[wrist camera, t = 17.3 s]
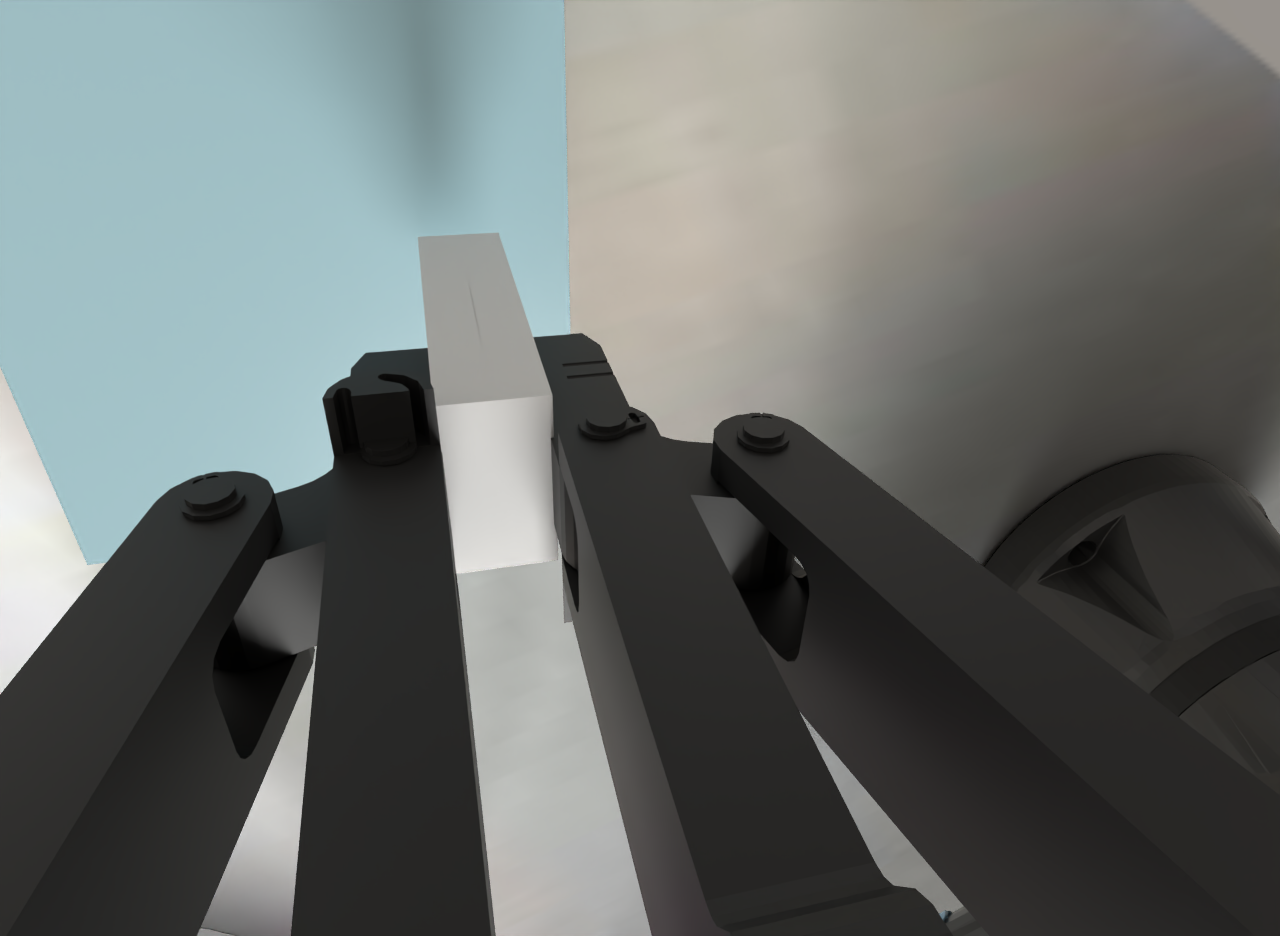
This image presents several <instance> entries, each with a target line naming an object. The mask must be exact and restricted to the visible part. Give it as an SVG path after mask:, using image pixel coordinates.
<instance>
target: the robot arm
mask: <svg viewBox="0 0 1280 936" xmlns="http://www.w3.org/2000/svg"><path fill="white" fill-rule="evenodd" d="M418 247H419V258H420V269H421V280H422V291H423V302H424V313H425V324H426V335H427V346H428V348H419V349H407V350H394V351H382V352H369V353H365V354H364V355H363V356H362V357H361V358H360V359H359V360H358V361H357V362H356V363H355V365H354V366H353V367H352V368H351V374H350V376H349V377H346V378H344V379H341V380H339V381H338V382H336V383H335V384H334V385H332V386H331V387H329V388H328V389H327V391H326V392H325V394H324V396H323V398H322V401H323V406H324V410H325V415H326V420H327V425H328V430H329V435H330V440H331V445H332V449H333V454H334V460H333V469H331V470H330V471H329V472H328V473H326V474H325V475H323V476H321V477H319V478H317V479H316V480H314V481H312V482H309V483H306V484H303V485H301V486H298V487H295V488H292V489H288V490H285V491H281V492H278V493H275V494H274V490H273V488H272V487H271V485H270V483H269V481H268V480H267V479H265V478H263V477H261V476H259V475H257V474H255V473H248V472H241V471H226V472H212V473H207V474H205V475H199V476H196V477H193V478H191V479H189V480H187V481H185V482H183V483H181V484H179V485H177V486H175V487H173V488H171V489H169V490H168V491H167V492H166V493H165V494H164V495H162V496H161V497H160V498H159V499H158V500H157V501H156V502H155V503H154V504H153V505H152V507H151V508H150V509H149V510H148V512H147V513H146V514H145V515H144V517H143V518H142V519H141V520H140V522H139V523H138V524H137V525H136V526H135V528H134V529H133V530H132V531H131V533H130V534H129V535H128V536H127V538H126V539H125V540H124V541H123V543H122V544H121V545H120V546H119V548H118V549H117V550H116V551H115V553H114V554H113V555H112V556H111V558H110V559H109V560H108V561H107V563H106V564H105V565H104V566H103V568H102V569H101V570H100V571H99V573H98V574H97V575H96V576H95V577H94V579H93V580H92V581H91V582H90V584H89V585H88V586H87V587H86V589H85V590H84V591H83V592H82V594H81V595H80V596H79V597H78V599H77V600H76V601H75V602H74V604H73V605H72V606H71V607H70V609H69V610H68V611H67V612H66V614H65V615H64V616H63V617H62V619H61V620H60V621H59V622H58V624H57V625H56V626H55V627H54V628H53V630H52V631H51V632H50V633H49V635H48V636H47V637H46V638H45V640H44V641H43V642H42V643H41V645H40V646H39V647H38V648H37V650H36V651H35V652H34V653H33V655H32V656H31V657H30V658H29V660H28V661H27V662H26V663H25V665H24V666H23V667H22V668H21V670H20V671H19V672H18V673H17V675H16V676H15V677H14V678H13V679H12V681H11V682H10V683H9V684H8V686H7V687H6V688H5V689H4V691H3V692H2V693H1V694H0V936H197V934H198V932H199V930H200V927H201V925H202V923H203V920H204V918H205V916H206V913H207V911H208V908H209V906H210V904H211V901H212V899H213V897H214V894H215V892H216V890H217V887H218V885H219V883H220V880H221V878H222V876H223V873H224V871H225V868H226V866H227V864H228V861H229V859H230V857H231V854H232V852H233V850H234V847H235V845H236V843H237V840H238V838H239V836H240V833H241V831H242V828H243V826H244V824H245V821H246V819H247V817H248V814H249V812H250V810H251V807H252V805H253V803H254V800H255V798H256V796H257V793H258V791H259V789H260V786H261V784H262V781H263V779H264V777H265V774H266V772H267V770H268V767H269V765H270V763H271V760H272V758H273V756H274V753H275V751H276V749H277V746H278V744H279V741H280V739H281V737H282V734H283V732H284V730H285V727H286V725H287V723H288V720H289V718H290V716H291V713H292V711H293V709H294V706H295V704H296V701H297V699H298V697H299V694H300V692H301V690H302V687H303V685H304V683H305V680H306V678H307V676H308V673H309V671H310V669H311V666H312V664H313V658H314V651H315V649H314V646H317V650H316V661H315V672H314V684H313V695H312V706H311V717H310V728H309V739H308V751H307V762H306V773H305V784H304V795H303V806H302V818H301V829H300V840H299V851H298V862H297V873H296V885H295V896H294V907H293V918H292V929H291V936H496V935H495V926H494V917H493V907H492V898H491V889H490V879H489V870H488V861H487V851H486V842H485V833H484V823H483V814H482V805H481V796H480V786H479V777H478V768H477V758H476V749H475V740H474V730H473V721H472V712H471V703H470V693H469V684H468V675H467V665H466V656H465V647H464V637H463V628H462V619H461V610H460V600H459V592H458V584H457V575H456V574H460V573H467V572H474V571H482V570H489V569H497V568H504V567H511V566H519V565H526V564H533V563H541V562H548V561H555V560H558V540H559V544H560V548H561V552H562V570H563V601H564V623H566V622H572V621H573V625H574V629H575V633H576V636H577V640H578V644H579V648H580V652H581V656H582V660H583V664H584V668H585V672H586V676H587V680H588V684H589V688H590V692H591V696H592V700H593V704H594V708H595V712H596V716H597V720H598V724H599V728H600V732H601V736H602V740H603V744H604V747H605V751H606V755H607V759H608V763H609V767H610V771H611V775H612V779H613V783H614V787H615V791H616V795H617V799H618V803H619V807H620V811H621V815H622V819H623V823H624V827H625V831H626V835H627V839H628V843H629V847H630V851H631V855H632V858H633V862H634V866H635V870H636V874H637V878H638V882H639V886H640V890H641V894H642V898H643V902H644V906H645V910H646V914H647V918H648V922H649V926H650V930H651V934H652V936H1280V534H1279V533H1278V532H1277V531H1276V529H1275V528H1274V527H1273V526H1272V524H1271V522H1270V520H1269V519H1268V517H1267V515H1266V512H1265V511H1264V509H1263V507H1262V505H1261V504H1260V502H1259V501H1258V500H1257V499H1256V498H1255V497H1254V496H1253V495H1252V494H1251V493H1250V492H1249V491H1248V490H1247V489H1245V488H1244V487H1242V486H1241V485H1240V484H1238V483H1237V482H1235V481H1234V480H1233V479H1231V478H1230V477H1228V476H1227V475H1225V474H1224V473H1223V472H1221V471H1220V470H1218V469H1217V468H1216V467H1214V466H1213V465H1211V464H1209V463H1208V462H1206V461H1203V460H1201V459H1198V458H1194V457H1190V456H1184V455H1155V456H1149V457H1143V458H1139V459H1134V460H1130V461H1127V462H1124V463H1120V464H1118V465H1115V466H1112V467H1109V468H1107V469H1105V470H1102V471H1100V472H1098V473H1095V474H1093V475H1091V476H1089V477H1087V478H1085V479H1083V480H1082V481H1080V482H1078V483H1076V484H1074V485H1073V486H1071V487H1069V488H1068V489H1066V490H1064V491H1063V492H1061V493H1060V494H1058V495H1057V496H1055V497H1054V498H1052V499H1051V500H1050V501H1048V502H1047V503H1046V504H1044V505H1043V506H1042V507H1040V508H1039V509H1038V510H1037V511H1035V512H1034V513H1033V514H1032V515H1031V516H1029V517H1028V518H1027V519H1026V520H1025V521H1024V522H1023V523H1022V524H1021V525H1020V526H1019V527H1018V528H1016V529H1015V530H1014V531H1013V533H1012V534H1011V535H1010V536H1009V537H1008V538H1007V539H1006V540H1005V541H1004V542H1003V543H1002V545H1001V546H1000V547H999V548H998V549H997V551H996V552H995V553H994V555H993V556H992V557H991V558H990V560H989V561H988V563H987V564H986V566H985V567H983V566H982V565H981V564H979V563H978V562H977V561H975V560H974V559H973V558H972V557H970V556H969V555H968V554H966V553H965V552H964V551H963V550H961V549H960V548H959V547H957V546H956V545H955V544H953V543H952V542H951V541H950V540H948V539H947V538H946V537H944V536H943V535H942V534H940V533H939V532H938V531H937V530H935V529H934V528H933V527H931V526H930V525H929V524H928V523H926V522H925V521H924V520H922V519H921V518H920V517H918V516H917V515H916V514H915V513H913V512H912V511H911V510H909V509H908V508H907V507H905V506H904V505H903V504H902V503H900V502H899V501H898V500H896V499H895V498H894V497H893V496H891V495H890V494H889V493H887V492H886V491H885V490H883V489H882V488H881V487H880V486H878V485H877V484H876V483H874V482H873V481H872V480H870V479H869V478H868V477H867V476H865V475H864V474H863V473H861V472H860V471H859V470H858V469H856V468H855V467H854V466H852V465H851V464H850V463H848V462H847V461H846V460H845V459H843V458H842V457H841V456H839V455H838V454H837V453H835V452H834V451H833V450H832V449H830V448H829V447H828V446H826V445H825V444H824V443H823V442H821V441H820V440H819V439H817V438H816V437H815V436H813V435H812V434H811V433H810V432H808V431H807V430H806V429H804V428H803V427H801V426H800V425H798V424H796V423H794V422H792V421H790V420H788V419H785V418H781V417H778V416H774V415H772V414H766V413H763V414H760V413H750V414H744V415H736V416H733V417H731V418H728V419H726V420H724V421H722V422H721V423H720V424H719V425H718V426H717V427H716V428H715V429H714V438H713V444H712V443H699V442H687V441H680V440H673V439H669V438H666V437H662V436H660V434H659V432H658V430H657V428H656V426H655V424H654V422H653V421H652V420H651V419H650V418H649V417H648V416H647V414H646V413H643V412H641V411H639V410H637V409H635V408H633V407H629V405H628V403H627V401H626V398H625V396H624V394H623V392H622V390H621V388H620V386H619V384H618V382H617V380H616V377H615V375H613V371H612V369H611V367H610V365H609V363H607V359H606V356H605V354H604V352H603V350H602V348H601V346H600V345H599V344H597V343H596V342H594V341H593V340H591V339H590V338H588V337H587V336H585V335H584V334H582V333H579V334H567V335H554V336H541V337H533V335H532V332H531V329H530V326H529V323H528V320H527V317H526V314H525V311H524V308H523V305H522V302H521V299H520V296H519V293H518V290H517V287H516V284H515V281H514V278H513V275H512V272H511V269H510V266H509V263H508V260H507V257H506V254H505V251H504V248H503V245H502V242H501V239H500V236H499V233H480V234H461V235H441V236H422V237H418ZM795 556H796V557H797V559H798V560H799V561H800V563H801V564H802V566H803V568H804V569H803V568H802V567H801V566H800V565H799V564H798V563H797V562H796V561H795V560H794V558H795ZM799 711H800V712H801V714H802V715H803V716H804V717H805V718H806V720H807V721H808V722H809V723H810V724H811V725H812V727H813V728H814V729H815V730H816V731H817V733H818V734H819V735H820V736H821V737H822V739H823V740H824V741H825V742H826V743H827V744H828V746H829V747H830V748H831V749H832V750H833V752H834V753H835V754H836V755H837V756H838V757H839V759H840V760H841V761H842V762H843V763H844V765H845V766H846V767H847V768H848V769H849V770H850V772H851V773H852V774H853V775H854V776H855V778H856V779H857V780H858V781H859V782H860V784H861V785H862V786H863V787H864V788H865V789H866V791H867V792H868V793H869V794H870V795H871V797H872V798H873V799H874V800H875V801H876V802H877V804H878V805H879V806H880V807H881V808H882V810H883V811H884V812H885V813H886V814H887V815H888V817H889V818H890V819H891V820H892V821H893V823H894V824H895V825H896V826H897V827H898V828H899V830H900V831H901V832H902V833H903V834H904V836H905V837H906V838H907V839H908V840H909V842H910V843H911V844H912V845H913V846H914V847H915V849H916V850H917V851H918V852H919V853H920V855H921V856H922V857H923V858H924V859H925V860H926V862H927V863H928V864H929V865H930V866H931V868H932V869H933V870H934V871H935V872H936V873H937V875H938V876H939V877H940V878H941V879H942V881H943V882H944V883H945V884H946V885H947V887H948V888H949V889H950V890H951V891H952V892H953V894H954V895H955V896H956V897H957V898H958V900H959V901H960V902H961V903H962V904H963V905H964V907H962V908H960V909H958V910H957V911H955V912H953V913H952V912H951V911H946V910H945V911H943V912H941V913H938V912H937V910H936V909H935V907H934V906H933V904H932V903H931V902H930V901H928V900H927V899H926V898H925V897H924V896H923V895H922V894H921V893H920V892H918V891H917V890H916V889H915V888H907V887H900V886H893V885H892V884H891V883H890V882H889V881H888V880H887V879H886V878H885V877H884V876H883V875H882V873H881V871H880V870H879V868H878V866H877V865H876V863H875V861H874V859H873V857H872V855H871V854H870V852H869V850H868V848H867V846H866V844H865V842H864V840H863V838H862V836H861V834H860V832H859V830H858V828H857V826H856V824H855V822H854V820H853V818H852V816H851V814H850V812H849V810H848V808H847V806H846V804H845V802H844V800H843V798H842V796H841V794H840V792H839V790H838V788H837V786H836V784H835V782H834V780H833V778H832V776H831V774H830V772H829V770H828V768H827V766H826V764H825V762H824V760H823V758H822V756H821V754H820V752H819V750H818V748H817V746H816V744H815V742H814V740H813V738H812V736H811V734H810V732H809V730H808V728H807V726H806V724H805V722H804V720H803V718H802V716H801V714H800V712H799Z"/></svg>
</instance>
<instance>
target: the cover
mask: <svg viewBox="0 0 1280 936" xmlns="http://www.w3.org/2000/svg"><path fill="white" fill-rule="evenodd" d="M480 233H499V236H500V239H501V242H502V245H503V248H504V251H505V254H506V257H507V260H508V263H509V266H510V269H511V272H512V275H513V278H514V281H515V284H516V287H517V290H518V293H519V296H520V299H521V302H522V305H523V308H524V311H525V314H526V317H527V320H528V323H529V326H530V329H531V332H532V335H533V337H541V336H554V335H567V334H570V292H569V240H568V187H567V135H566V82H565V29H564V0H0V367H1V370H2V372H3V374H4V376H5V379H6V381H7V383H8V386H9V388H10V390H11V392H12V395H13V397H14V399H15V401H16V404H17V406H18V408H19V410H20V413H21V415H22V417H23V420H24V422H25V424H26V426H27V429H28V431H29V433H30V435H31V438H32V440H33V442H34V444H35V447H36V449H37V451H38V454H39V456H40V458H41V460H42V463H43V465H44V467H45V469H46V472H47V474H48V476H49V478H50V481H51V483H52V485H53V488H54V490H55V492H56V494H57V497H58V499H59V501H60V503H61V506H62V508H63V510H64V512H65V515H66V517H67V519H68V522H69V524H70V526H71V528H72V531H73V533H74V535H75V537H76V540H77V542H78V544H79V546H80V549H81V551H82V553H83V556H84V558H85V560H86V562H87V565H91V564H99V563H107V561H108V560H109V559H110V558H111V556H112V555H113V554H114V553H115V551H116V550H117V549H118V548H119V546H120V545H121V544H122V543H123V541H124V540H125V539H126V538H127V536H128V535H129V534H130V533H131V531H132V530H133V529H134V528H135V526H136V525H137V524H138V523H139V522H140V520H141V519H142V518H143V517H144V515H145V514H146V513H147V512H148V510H149V509H150V508H151V507H152V505H153V504H154V503H155V502H156V501H157V500H158V499H159V498H160V497H161V496H162V495H164V494H165V493H166V492H167V491H168V490H169V489H171V488H173V487H175V486H177V485H179V484H181V483H183V482H185V481H187V480H189V479H191V478H193V477H196V476H199V475H205V474H207V473H212V472H226V471H241V472H248V473H255V474H257V475H259V476H261V477H263V478H265V479H267V480H268V481H269V483H270V485H271V487H272V488H273V490H274V494H275V493H278V492H281V491H285V490H288V489H292V488H295V487H298V486H301V485H303V484H306V483H309V482H312V481H314V480H316V479H317V478H319V477H321V476H323V475H325V474H326V473H328V472H329V471H330V470H331V469H333V460H334V454H333V449H332V445H331V440H330V435H329V430H328V425H327V420H326V415H325V410H324V406H323V401H322V398H323V396H324V394H325V392H326V391H327V389H328V388H329V387H331V386H332V385H334V384H335V383H336V382H338V381H339V380H341V379H344V378H346V377H349V376H350V374H351V368H352V367H353V366H354V365H355V363H356V362H357V361H358V360H359V359H360V358H361V357H362V356H363V355H364V354H365V353H369V352H382V351H394V350H407V349H419V348H428V346H427V335H426V324H425V313H424V302H423V291H422V280H421V269H420V258H419V247H418V237H422V236H441V235H461V234H480Z"/></svg>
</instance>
